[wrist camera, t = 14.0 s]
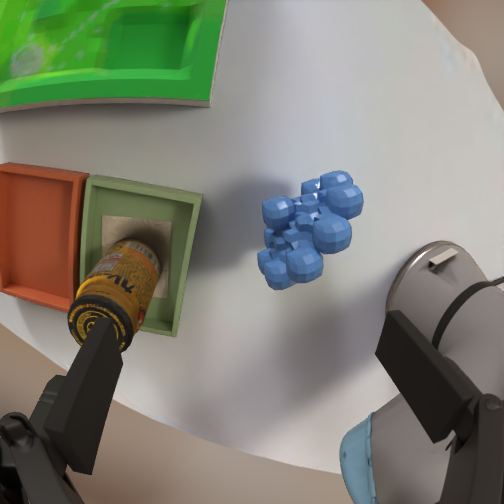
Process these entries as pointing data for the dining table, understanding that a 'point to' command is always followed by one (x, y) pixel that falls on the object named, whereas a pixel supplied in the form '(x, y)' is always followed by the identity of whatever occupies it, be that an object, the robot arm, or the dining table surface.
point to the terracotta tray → (41, 233)
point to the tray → (108, 52)
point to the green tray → (153, 208)
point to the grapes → (308, 229)
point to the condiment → (123, 278)
